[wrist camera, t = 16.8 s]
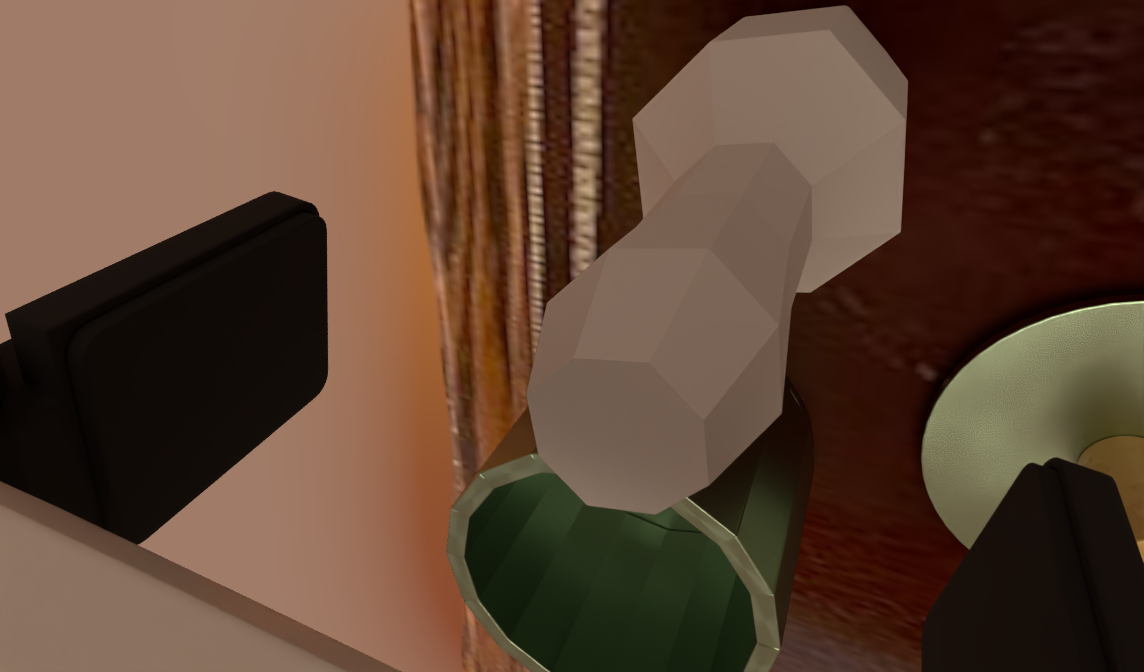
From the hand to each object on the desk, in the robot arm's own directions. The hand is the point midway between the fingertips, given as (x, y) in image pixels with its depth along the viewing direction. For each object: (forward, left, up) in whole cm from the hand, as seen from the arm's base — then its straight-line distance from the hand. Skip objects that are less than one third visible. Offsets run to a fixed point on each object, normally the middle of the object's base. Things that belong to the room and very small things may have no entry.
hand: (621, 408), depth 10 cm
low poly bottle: (0, 0, -21) cm, 21 cm away
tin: (+17, -1, -21) cm, 27 cm away
